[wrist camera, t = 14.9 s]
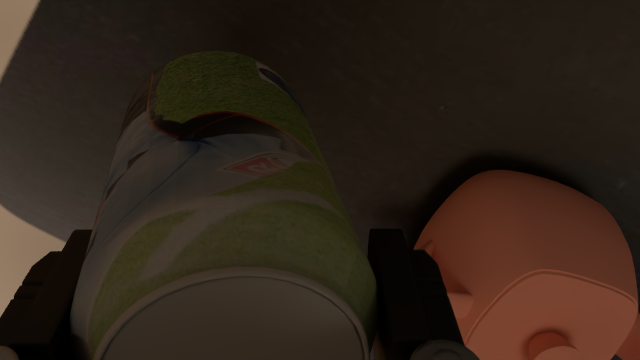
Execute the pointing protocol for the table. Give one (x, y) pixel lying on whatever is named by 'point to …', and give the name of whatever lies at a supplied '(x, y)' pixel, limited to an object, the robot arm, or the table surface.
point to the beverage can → (221, 229)
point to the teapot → (534, 270)
